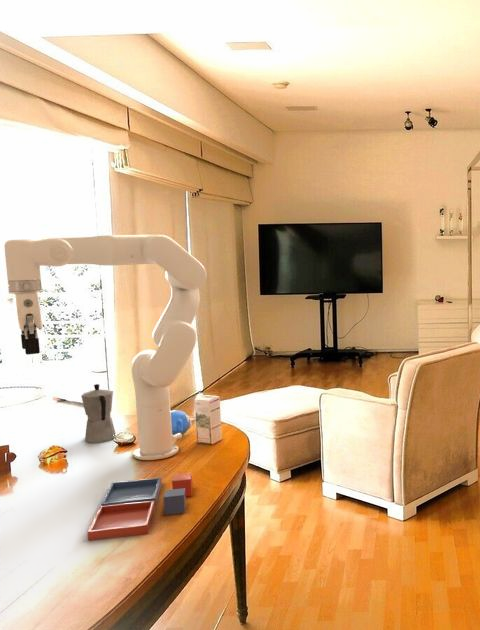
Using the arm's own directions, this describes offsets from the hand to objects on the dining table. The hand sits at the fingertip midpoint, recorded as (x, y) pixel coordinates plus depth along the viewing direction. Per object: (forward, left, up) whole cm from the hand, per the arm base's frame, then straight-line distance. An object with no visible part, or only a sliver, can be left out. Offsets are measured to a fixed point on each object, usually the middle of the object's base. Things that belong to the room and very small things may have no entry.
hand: (30, 351), depth 179 cm
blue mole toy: (-45, +10, -36) cm, 58 cm away
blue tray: (+2, +33, -36) cm, 49 cm away
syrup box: (-42, +23, -36) cm, 60 cm away
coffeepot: (-33, -12, -36) cm, 50 cm away
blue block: (+5, +48, -36) cm, 60 cm away
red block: (-4, +43, -36) cm, 56 cm away
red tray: (+15, +42, -36) cm, 57 cm away
